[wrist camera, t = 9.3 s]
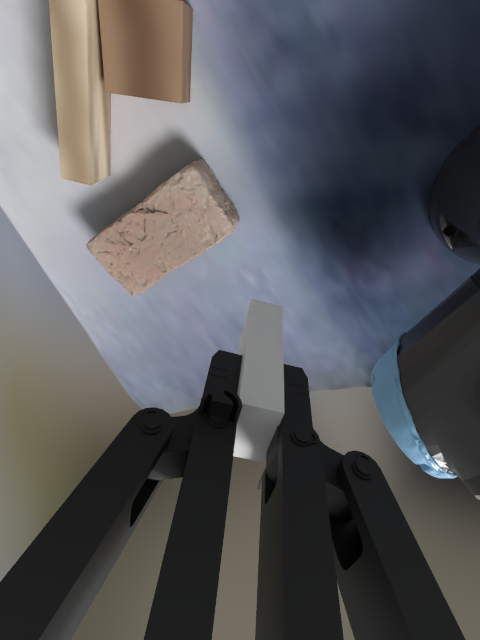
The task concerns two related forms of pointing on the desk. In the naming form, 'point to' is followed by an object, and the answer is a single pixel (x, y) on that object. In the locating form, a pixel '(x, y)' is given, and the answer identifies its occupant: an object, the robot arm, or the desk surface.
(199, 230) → the brick
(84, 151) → the board
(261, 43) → the desk surface
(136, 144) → the desk surface
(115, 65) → the block
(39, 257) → the desk surface
